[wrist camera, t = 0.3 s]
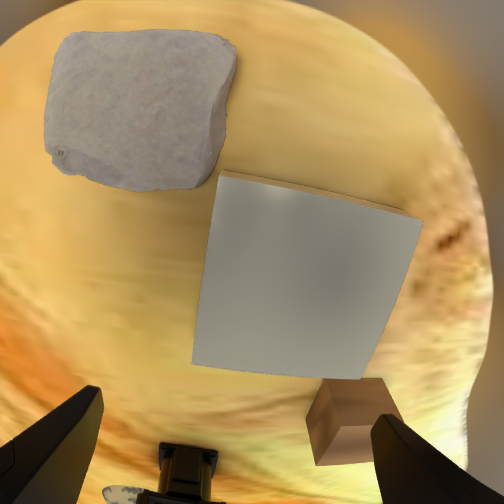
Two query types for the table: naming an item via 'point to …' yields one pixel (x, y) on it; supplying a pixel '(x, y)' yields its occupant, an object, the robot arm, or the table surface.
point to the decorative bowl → (121, 494)
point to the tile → (298, 278)
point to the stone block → (139, 107)
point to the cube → (347, 419)
